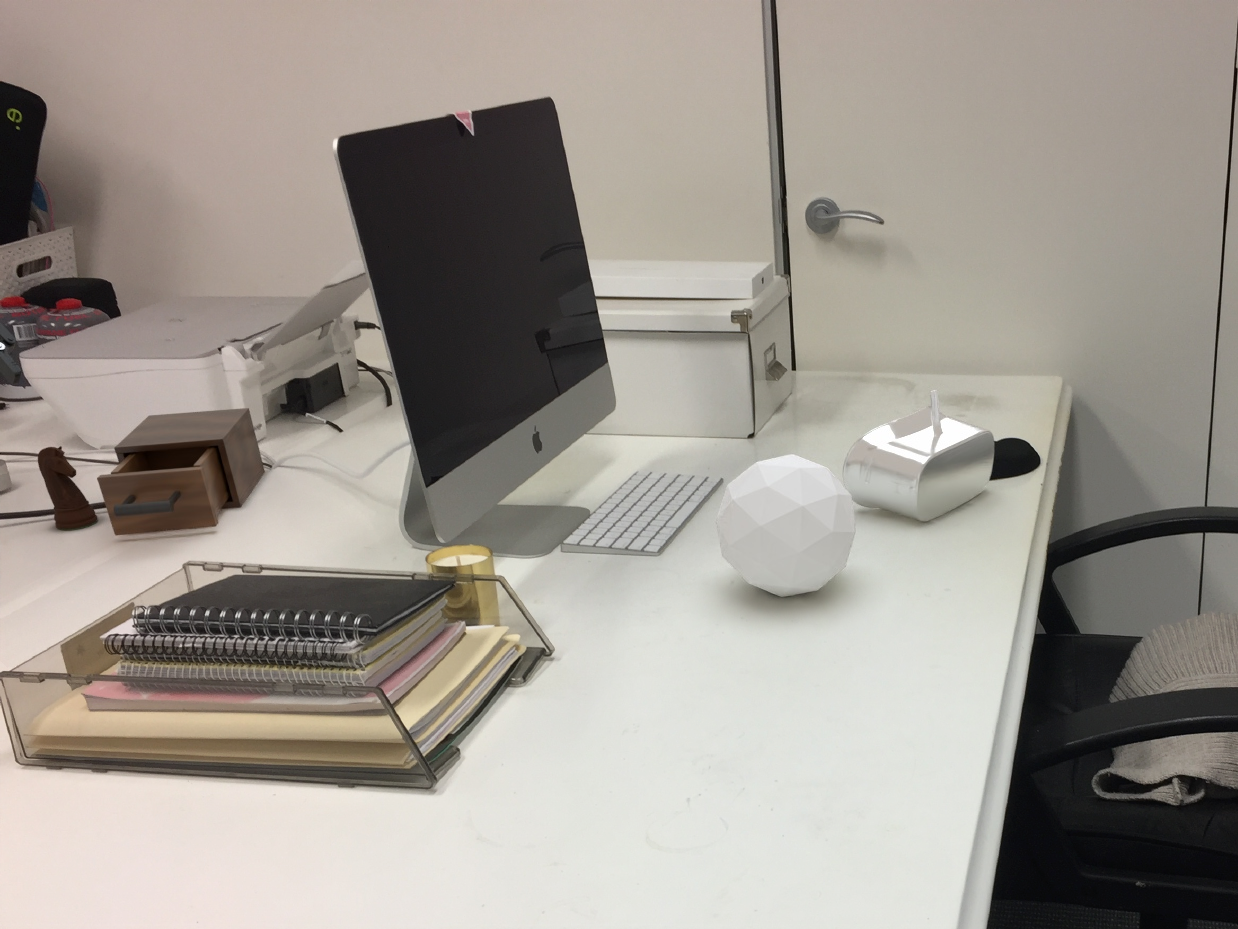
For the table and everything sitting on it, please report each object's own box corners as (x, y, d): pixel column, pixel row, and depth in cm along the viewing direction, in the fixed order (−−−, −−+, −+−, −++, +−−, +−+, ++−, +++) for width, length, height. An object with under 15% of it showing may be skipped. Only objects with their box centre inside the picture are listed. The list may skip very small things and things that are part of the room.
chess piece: (78, 531, 153) (52, 453, 149) (44, 529, 155) (17, 451, 150) (106, 518, 157) (82, 442, 153) (73, 516, 159) (48, 440, 154)
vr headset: (927, 473, 166) (927, 365, 159) (1000, 489, 159) (1003, 378, 153) (842, 512, 153) (838, 397, 147) (917, 532, 147) (916, 412, 140)
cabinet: (241, 507, 160) (222, 438, 156) (135, 516, 158) (114, 447, 154) (265, 471, 173) (248, 407, 169) (167, 480, 171) (148, 415, 166)
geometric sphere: (821, 619, 138) (899, 510, 134) (772, 629, 124) (858, 507, 120) (725, 541, 140) (799, 432, 137) (666, 543, 126) (748, 421, 122)
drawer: (205, 542, 147) (188, 483, 143) (100, 552, 145) (81, 492, 141) (241, 490, 163) (227, 436, 160) (147, 498, 161) (131, 444, 158)
